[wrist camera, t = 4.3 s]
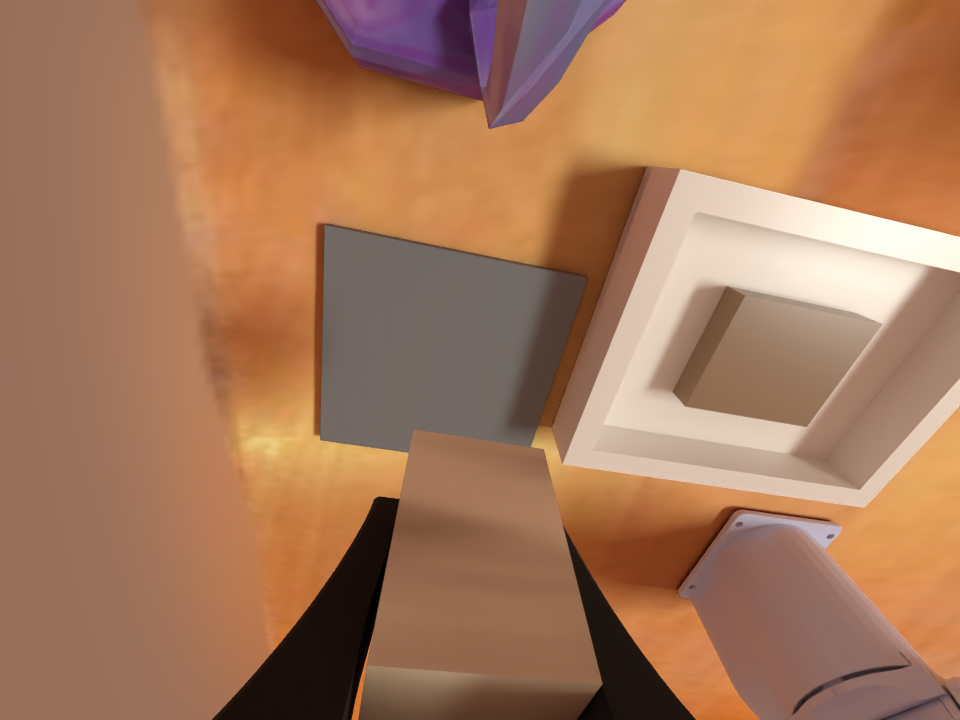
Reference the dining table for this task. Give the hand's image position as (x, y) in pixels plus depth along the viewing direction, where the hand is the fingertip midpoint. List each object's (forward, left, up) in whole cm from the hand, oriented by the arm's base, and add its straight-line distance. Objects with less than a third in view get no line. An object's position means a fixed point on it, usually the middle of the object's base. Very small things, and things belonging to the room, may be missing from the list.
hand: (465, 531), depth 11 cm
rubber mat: (0, +1, -11) cm, 11 cm away
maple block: (0, 0, -2) cm, 2 cm away
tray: (+4, -15, -11) cm, 18 cm away
